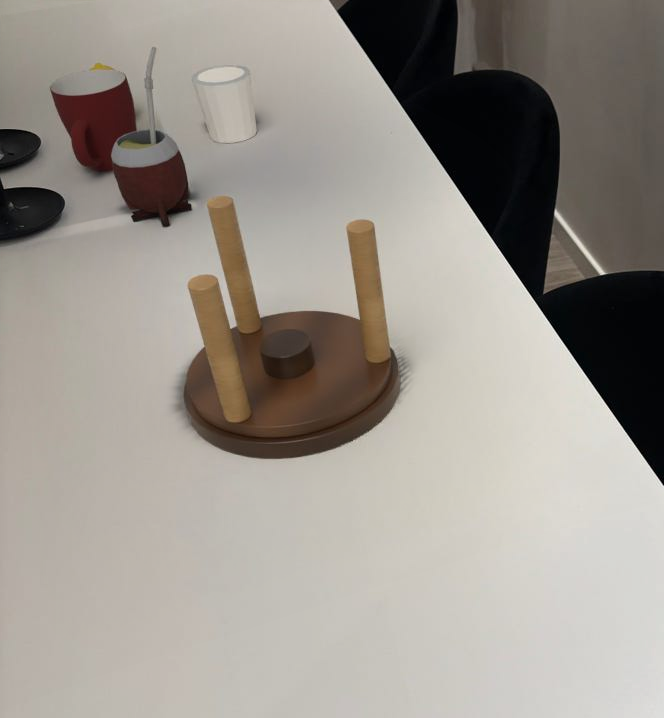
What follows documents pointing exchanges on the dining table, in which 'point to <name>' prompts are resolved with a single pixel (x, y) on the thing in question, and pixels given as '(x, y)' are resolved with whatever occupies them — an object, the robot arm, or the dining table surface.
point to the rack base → (305, 442)
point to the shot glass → (226, 102)
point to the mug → (95, 113)
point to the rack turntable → (285, 345)
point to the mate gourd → (150, 168)
